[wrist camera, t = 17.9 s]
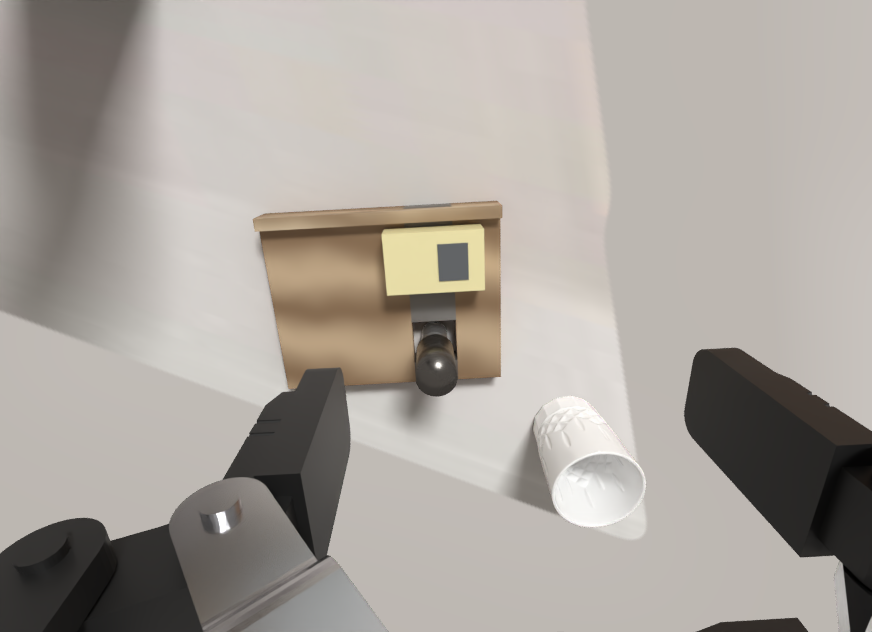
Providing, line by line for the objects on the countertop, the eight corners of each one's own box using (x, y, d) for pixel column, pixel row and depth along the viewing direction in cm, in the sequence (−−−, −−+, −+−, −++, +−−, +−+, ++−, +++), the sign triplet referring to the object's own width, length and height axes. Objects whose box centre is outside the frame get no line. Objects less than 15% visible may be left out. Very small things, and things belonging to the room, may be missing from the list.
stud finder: (384, 228, 38) (381, 234, 36) (480, 223, 38) (484, 229, 36) (389, 286, 40) (387, 296, 38) (481, 281, 40) (485, 290, 38)
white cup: (579, 376, 46) (619, 435, 37) (616, 430, 49) (662, 499, 39) (512, 416, 48) (534, 483, 38) (551, 467, 50) (580, 541, 41)
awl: (416, 318, 44) (414, 360, 35) (450, 316, 44) (456, 358, 35) (418, 349, 45) (417, 397, 36) (451, 347, 45) (458, 395, 36)
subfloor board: (264, 213, 40) (252, 219, 37) (496, 200, 40) (502, 205, 37) (294, 378, 45) (285, 394, 43) (497, 367, 46) (502, 381, 43)
